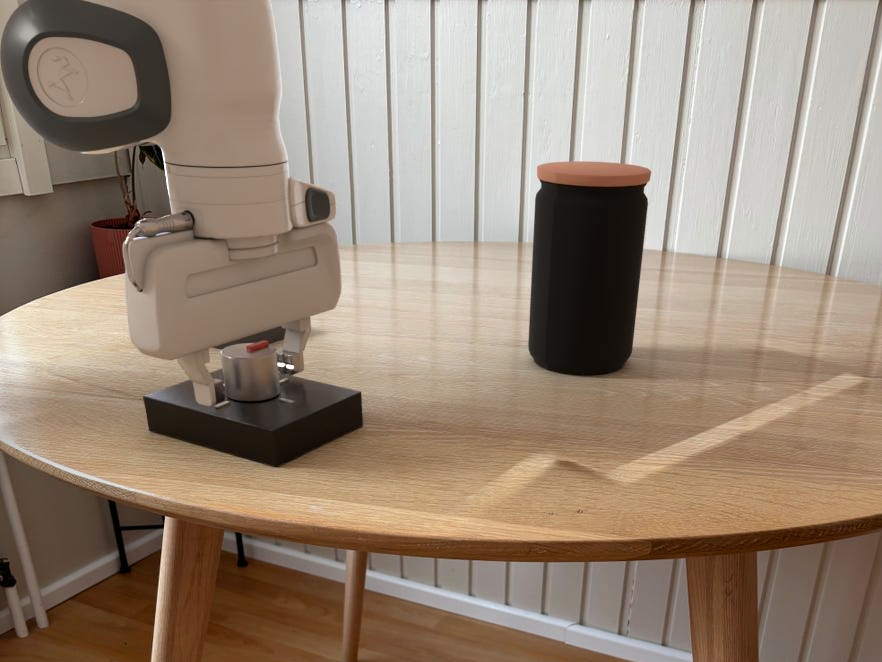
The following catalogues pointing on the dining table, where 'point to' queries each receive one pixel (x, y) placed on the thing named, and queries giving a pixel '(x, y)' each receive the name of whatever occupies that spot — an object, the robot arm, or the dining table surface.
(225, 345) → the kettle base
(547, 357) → the coffee jar
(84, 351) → the dining table surface
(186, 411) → the dial panel
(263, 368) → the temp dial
